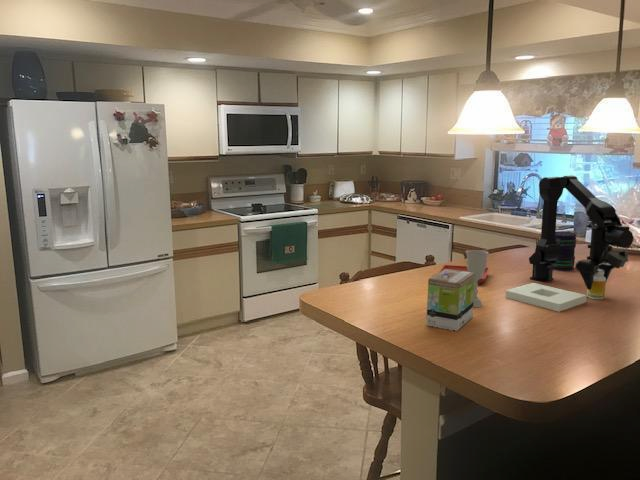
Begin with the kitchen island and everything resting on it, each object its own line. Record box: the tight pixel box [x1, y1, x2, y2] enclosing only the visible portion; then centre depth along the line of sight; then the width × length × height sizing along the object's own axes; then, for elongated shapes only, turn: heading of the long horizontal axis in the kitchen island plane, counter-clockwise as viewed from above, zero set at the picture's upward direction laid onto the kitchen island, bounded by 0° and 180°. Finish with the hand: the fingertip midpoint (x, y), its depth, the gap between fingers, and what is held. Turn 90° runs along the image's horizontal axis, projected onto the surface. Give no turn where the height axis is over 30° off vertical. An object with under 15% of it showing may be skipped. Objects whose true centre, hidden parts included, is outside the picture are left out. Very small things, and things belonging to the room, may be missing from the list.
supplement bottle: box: [586, 269, 607, 300], centre depth 185 cm, size 5×5×10 cm
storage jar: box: [552, 230, 577, 272], centre depth 225 cm, size 10×10×15 cm
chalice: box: [465, 249, 489, 308], centre depth 178 cm, size 7×7×18 cm
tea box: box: [425, 269, 475, 332], centre depth 163 cm, size 15×10×15 cm, turn 148°
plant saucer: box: [438, 264, 490, 285], centre depth 213 cm, size 18×18×3 cm
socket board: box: [504, 282, 587, 313], centre depth 184 cm, size 20×16×2 cm
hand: (596, 286), depth 185 cm, fingers open, 9 cm apart
